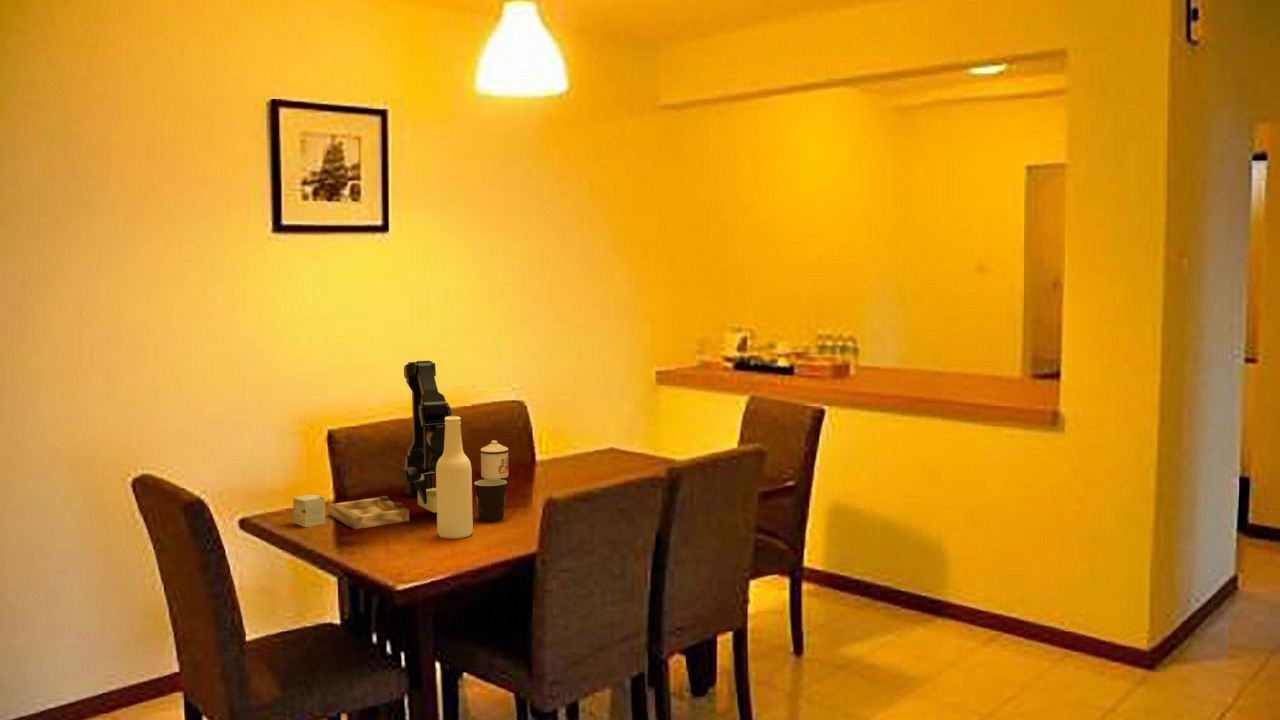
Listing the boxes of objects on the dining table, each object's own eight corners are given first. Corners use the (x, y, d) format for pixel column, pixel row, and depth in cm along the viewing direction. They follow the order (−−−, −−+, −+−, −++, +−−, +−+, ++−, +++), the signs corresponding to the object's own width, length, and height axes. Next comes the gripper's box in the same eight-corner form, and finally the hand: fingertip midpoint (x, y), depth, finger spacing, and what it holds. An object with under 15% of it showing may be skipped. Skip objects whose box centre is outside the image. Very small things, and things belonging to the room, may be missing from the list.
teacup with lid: (503, 480, 335) (502, 443, 334) (476, 479, 337) (475, 442, 336) (516, 472, 347) (515, 437, 346) (489, 471, 349) (489, 436, 348)
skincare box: (293, 524, 281) (292, 497, 280) (313, 520, 286) (312, 493, 285) (305, 528, 277) (304, 500, 276) (326, 524, 282) (325, 496, 281)
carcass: (381, 507, 300) (381, 493, 299) (409, 520, 284) (408, 506, 284) (329, 515, 291) (328, 500, 291) (354, 529, 276) (354, 514, 275)
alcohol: (441, 530, 274) (438, 414, 271) (475, 530, 274) (473, 414, 271) (434, 539, 265) (431, 419, 263) (469, 539, 265) (466, 419, 262)
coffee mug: (501, 524, 280) (500, 486, 279) (470, 522, 282) (469, 485, 281) (515, 513, 292) (514, 477, 291) (485, 512, 294) (484, 476, 293)
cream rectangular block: (438, 501, 296) (438, 487, 296) (454, 509, 287) (454, 494, 287) (418, 504, 293) (417, 490, 293) (433, 512, 284) (433, 497, 283)
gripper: (414, 453, 276) (416, 512, 278) (479, 446, 287) (480, 503, 289) (397, 447, 285) (399, 504, 287) (461, 440, 296) (462, 495, 298)
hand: (436, 502), depth 290 cm, fingers closed on cream rectangular block, 6 cm apart
